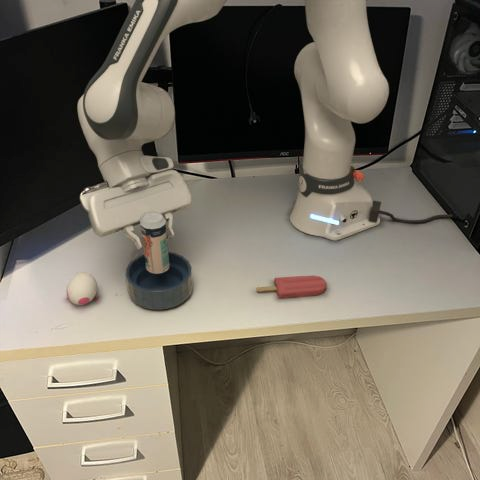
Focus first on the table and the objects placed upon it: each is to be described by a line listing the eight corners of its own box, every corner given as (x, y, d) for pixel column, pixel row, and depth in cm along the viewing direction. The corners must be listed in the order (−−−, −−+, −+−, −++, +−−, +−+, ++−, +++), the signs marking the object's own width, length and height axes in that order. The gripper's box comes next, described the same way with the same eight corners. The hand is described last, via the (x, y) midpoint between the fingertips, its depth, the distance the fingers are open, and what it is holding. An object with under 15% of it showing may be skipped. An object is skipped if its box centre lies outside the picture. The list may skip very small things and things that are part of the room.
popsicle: (254, 278, 110) (323, 273, 111) (254, 284, 111) (322, 279, 112) (258, 295, 106) (329, 289, 107) (258, 300, 107) (328, 295, 109)
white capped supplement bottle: (146, 261, 106) (140, 210, 98) (170, 260, 106) (165, 209, 98) (145, 276, 102) (138, 224, 94) (169, 275, 103) (165, 223, 94)
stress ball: (81, 299, 111) (58, 279, 107) (109, 283, 108) (86, 261, 104) (74, 323, 105) (49, 302, 101) (103, 306, 102) (78, 284, 99)
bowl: (182, 266, 115) (180, 246, 111) (200, 303, 106) (199, 282, 102) (123, 279, 111) (119, 258, 107) (137, 318, 102) (133, 297, 98)
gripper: (78, 184, 91) (110, 257, 92) (178, 155, 100) (206, 222, 101) (73, 196, 97) (103, 264, 98) (168, 168, 106) (195, 230, 107)
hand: (156, 242), depth 99 cm, fingers closed on white capped supplement bottle, 5 cm apart
